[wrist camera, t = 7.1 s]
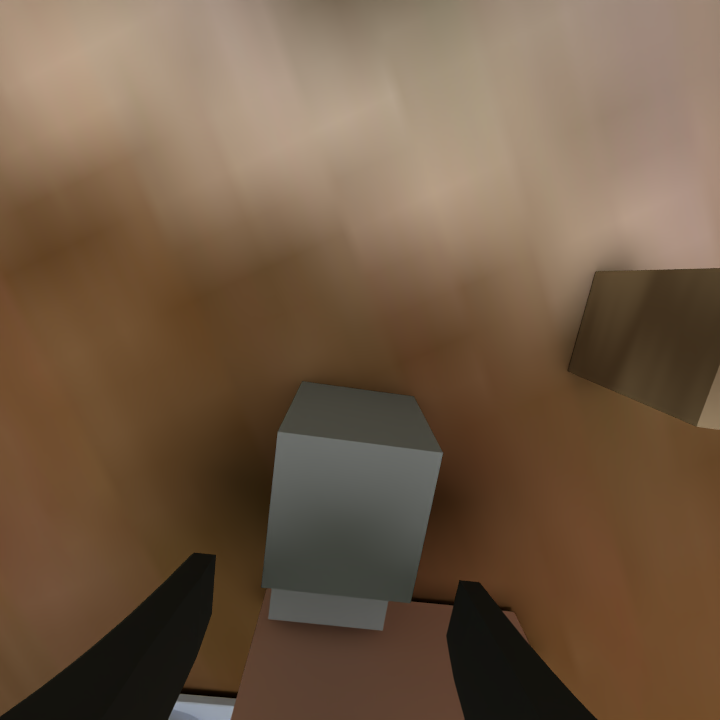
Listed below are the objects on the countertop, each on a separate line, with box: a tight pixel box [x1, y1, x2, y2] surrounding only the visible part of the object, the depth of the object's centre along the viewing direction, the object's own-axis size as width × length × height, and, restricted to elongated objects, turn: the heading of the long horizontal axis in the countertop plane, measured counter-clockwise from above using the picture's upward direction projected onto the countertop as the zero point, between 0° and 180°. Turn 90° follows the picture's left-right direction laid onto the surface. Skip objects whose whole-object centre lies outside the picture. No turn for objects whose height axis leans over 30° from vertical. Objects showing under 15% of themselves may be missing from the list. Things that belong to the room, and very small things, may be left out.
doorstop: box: [261, 381, 443, 631], centre depth 13 cm, size 9×4×5 cm, turn 171°
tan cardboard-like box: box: [568, 268, 720, 430], centre depth 13 cm, size 20×2×6 cm, turn 171°
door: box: [231, 588, 530, 720], centre depth 14 cm, size 11×1×5 cm, turn 82°
